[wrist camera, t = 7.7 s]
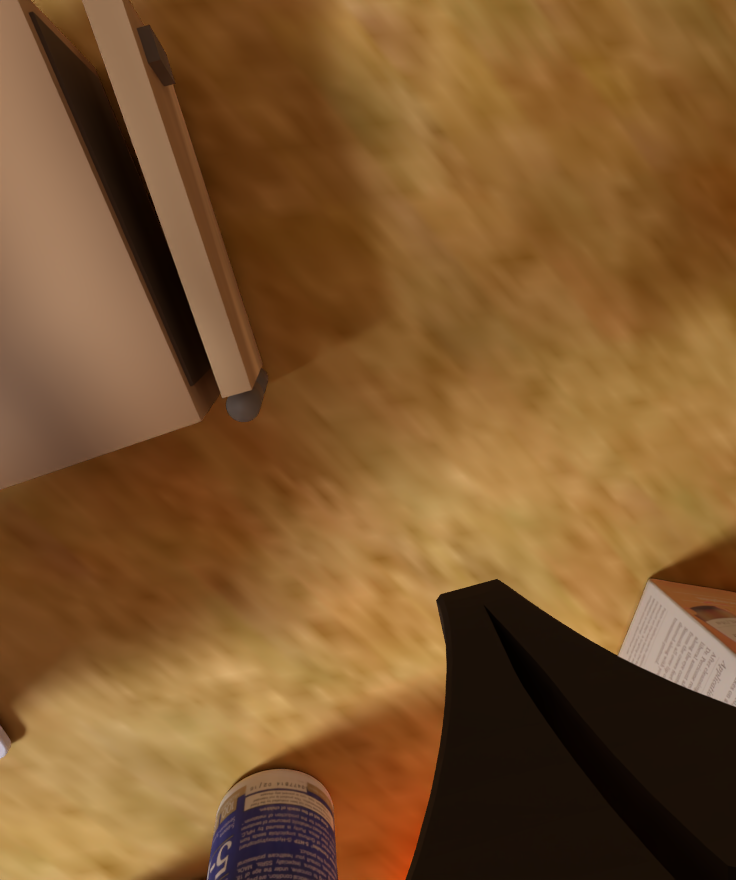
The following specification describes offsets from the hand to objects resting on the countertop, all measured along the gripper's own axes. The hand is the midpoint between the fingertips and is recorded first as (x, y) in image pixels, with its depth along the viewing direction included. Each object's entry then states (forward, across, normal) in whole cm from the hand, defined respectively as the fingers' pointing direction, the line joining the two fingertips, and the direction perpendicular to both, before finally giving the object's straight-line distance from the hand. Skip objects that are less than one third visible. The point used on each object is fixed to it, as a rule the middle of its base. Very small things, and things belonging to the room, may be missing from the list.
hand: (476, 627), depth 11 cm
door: (+10, +4, -9) cm, 14 cm away
